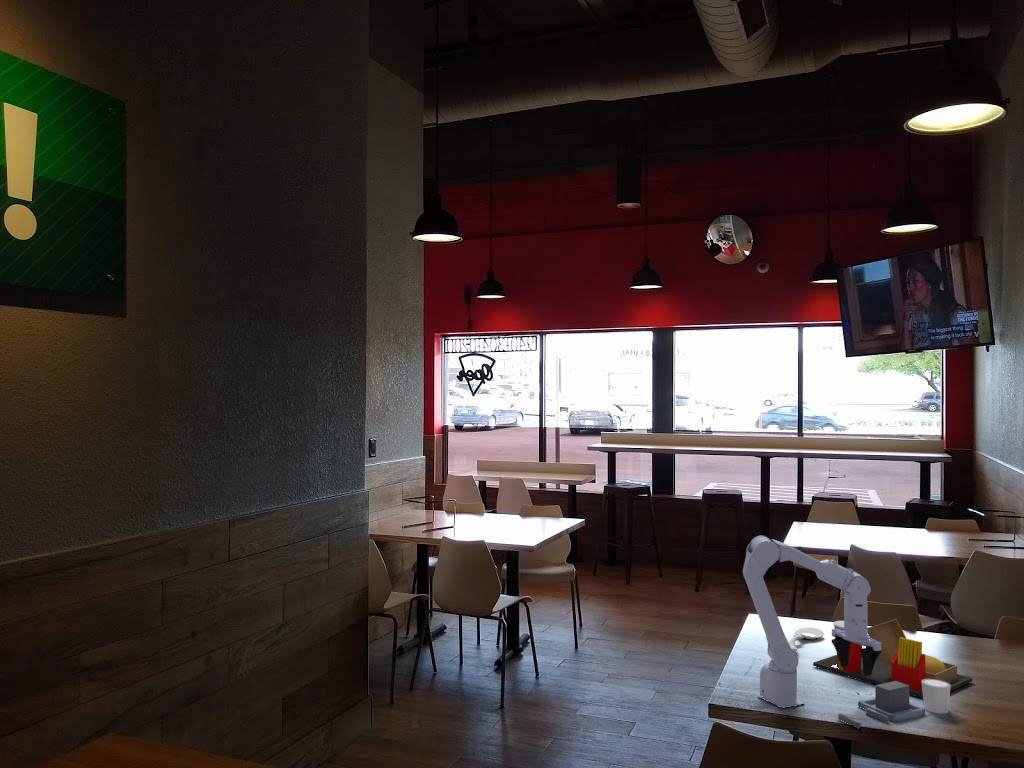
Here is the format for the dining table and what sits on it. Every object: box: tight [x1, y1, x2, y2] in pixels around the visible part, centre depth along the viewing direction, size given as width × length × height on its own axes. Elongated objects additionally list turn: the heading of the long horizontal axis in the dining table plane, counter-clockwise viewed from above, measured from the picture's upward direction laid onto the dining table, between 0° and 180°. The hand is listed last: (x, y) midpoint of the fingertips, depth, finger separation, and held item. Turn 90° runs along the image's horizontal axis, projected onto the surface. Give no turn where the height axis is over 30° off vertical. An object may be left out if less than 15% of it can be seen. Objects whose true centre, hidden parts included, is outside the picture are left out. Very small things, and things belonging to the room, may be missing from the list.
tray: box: [857, 697, 926, 723], centre depth 205 cm, size 11×12×2 cm
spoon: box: [788, 626, 824, 653], centre depth 263 cm, size 9×32×4 cm, turn 141°
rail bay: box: [837, 708, 890, 730], centre depth 198 cm, size 6×11×2 cm, turn 115°
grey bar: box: [874, 681, 910, 713], centre depth 205 cm, size 4×8×6 cm, turn 117°
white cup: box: [922, 679, 951, 715], centre depth 206 cm, size 7×7×7 cm
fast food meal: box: [812, 618, 973, 699], centre depth 233 cm, size 26×35×18 cm
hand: (855, 670), depth 208 cm, fingers open, 7 cm apart
